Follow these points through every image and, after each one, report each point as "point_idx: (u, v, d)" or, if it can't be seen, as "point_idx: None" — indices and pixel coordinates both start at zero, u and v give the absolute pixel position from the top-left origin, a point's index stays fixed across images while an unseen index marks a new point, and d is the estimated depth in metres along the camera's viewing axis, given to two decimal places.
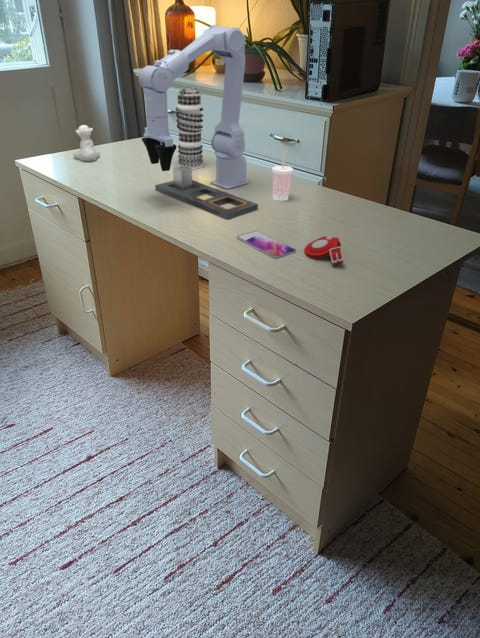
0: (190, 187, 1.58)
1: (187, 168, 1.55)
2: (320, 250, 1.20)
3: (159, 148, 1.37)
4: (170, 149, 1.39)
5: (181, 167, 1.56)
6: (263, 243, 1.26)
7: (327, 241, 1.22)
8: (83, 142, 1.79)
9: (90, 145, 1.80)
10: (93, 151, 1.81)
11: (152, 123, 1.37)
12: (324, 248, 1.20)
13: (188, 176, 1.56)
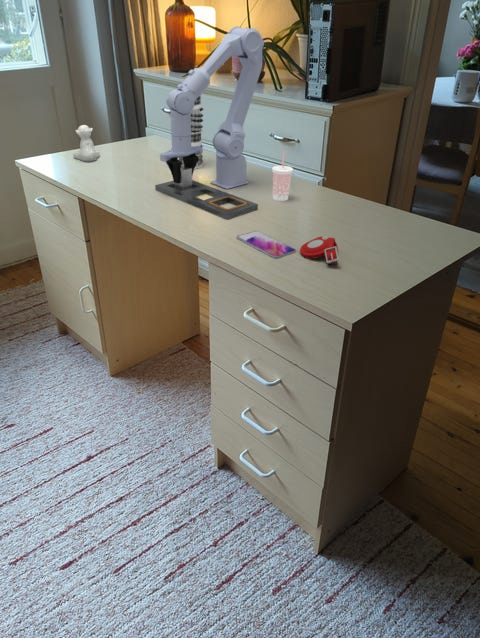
0: (190, 187, 1.58)
1: (187, 168, 1.55)
2: (315, 250, 1.20)
3: None
4: None
5: (181, 167, 1.56)
6: (263, 243, 1.26)
7: (323, 241, 1.22)
8: (83, 142, 1.79)
9: (90, 145, 1.80)
10: (93, 151, 1.81)
11: None
12: (319, 248, 1.20)
13: (188, 176, 1.56)
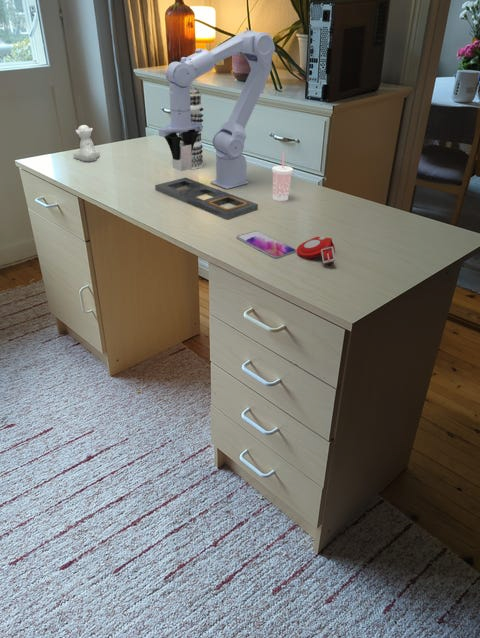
0: (189, 164, 1.54)
1: (186, 144, 1.52)
2: (312, 250, 1.20)
3: None
4: None
5: (180, 143, 1.52)
6: (263, 243, 1.26)
7: (319, 241, 1.22)
8: (83, 142, 1.79)
9: (90, 145, 1.80)
10: (93, 151, 1.81)
11: None
12: (316, 248, 1.20)
13: (187, 152, 1.52)
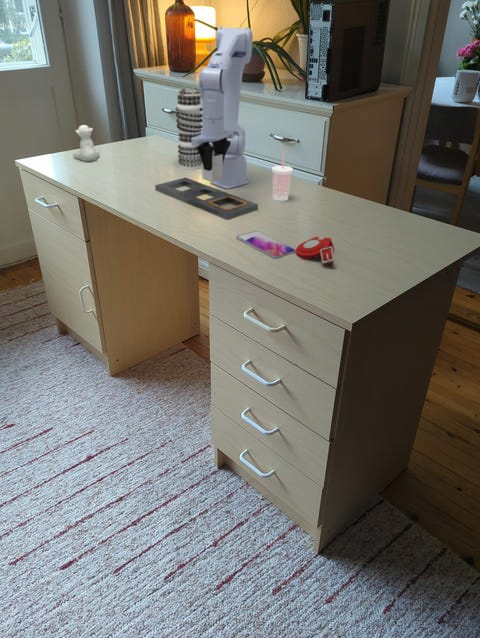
0: (220, 175, 1.46)
1: (217, 154, 1.44)
2: (311, 250, 1.20)
3: None
4: None
5: None
6: (262, 243, 1.26)
7: (319, 241, 1.22)
8: (83, 142, 1.79)
9: (90, 145, 1.80)
10: (93, 151, 1.81)
11: None
12: (315, 248, 1.20)
13: (219, 163, 1.44)
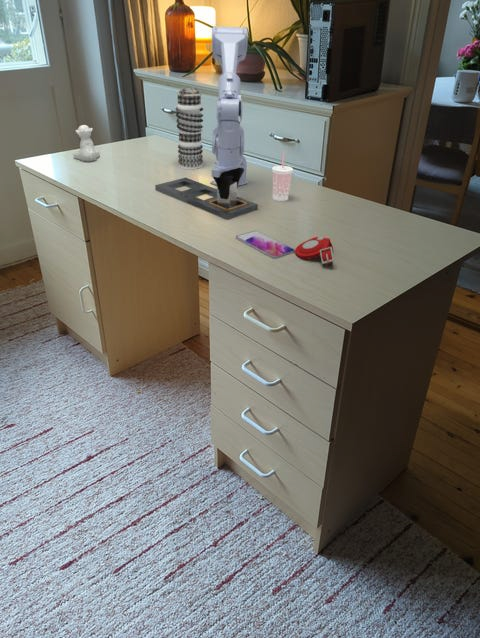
0: (235, 202, 1.47)
1: (232, 182, 1.44)
2: (311, 251, 1.20)
3: None
4: None
5: None
6: (262, 243, 1.26)
7: (318, 242, 1.21)
8: (83, 142, 1.79)
9: (90, 145, 1.80)
10: (93, 151, 1.81)
11: (218, 152, 1.38)
12: (315, 249, 1.20)
13: (234, 190, 1.44)
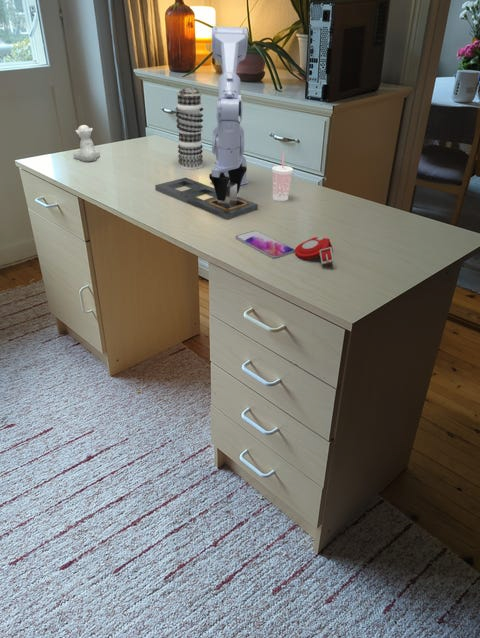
0: (235, 203, 1.47)
1: (232, 184, 1.44)
2: (310, 251, 1.20)
3: (209, 176, 1.38)
4: None
5: None
6: (261, 243, 1.26)
7: (317, 242, 1.21)
8: (83, 142, 1.79)
9: (90, 145, 1.80)
10: (93, 151, 1.81)
11: (218, 152, 1.38)
12: (314, 249, 1.20)
13: (234, 192, 1.45)
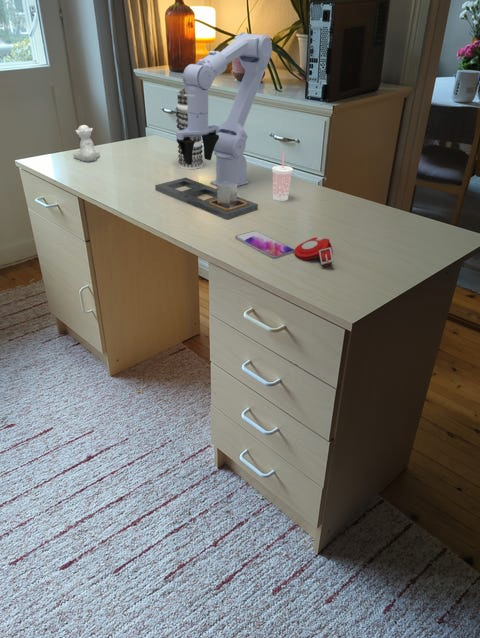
0: (235, 203, 1.47)
1: (232, 184, 1.44)
2: (310, 251, 1.19)
3: None
4: None
5: (225, 183, 1.44)
6: (261, 243, 1.26)
7: (317, 242, 1.21)
8: (83, 142, 1.79)
9: (90, 145, 1.80)
10: (93, 151, 1.81)
11: None
12: (314, 249, 1.19)
13: (234, 192, 1.45)
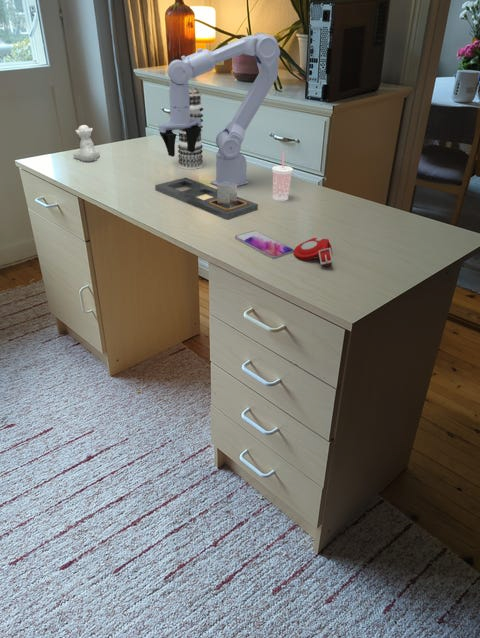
0: (235, 203, 1.47)
1: (232, 184, 1.44)
2: (309, 252, 1.19)
3: None
4: None
5: (225, 183, 1.44)
6: (261, 243, 1.26)
7: (316, 242, 1.21)
8: (83, 142, 1.79)
9: (90, 145, 1.80)
10: (93, 151, 1.81)
11: None
12: (313, 250, 1.19)
13: (234, 192, 1.45)
